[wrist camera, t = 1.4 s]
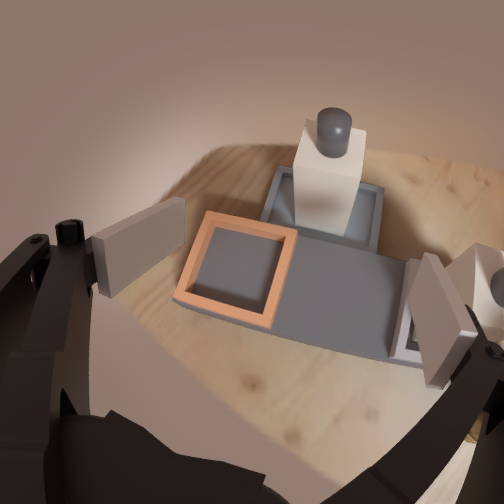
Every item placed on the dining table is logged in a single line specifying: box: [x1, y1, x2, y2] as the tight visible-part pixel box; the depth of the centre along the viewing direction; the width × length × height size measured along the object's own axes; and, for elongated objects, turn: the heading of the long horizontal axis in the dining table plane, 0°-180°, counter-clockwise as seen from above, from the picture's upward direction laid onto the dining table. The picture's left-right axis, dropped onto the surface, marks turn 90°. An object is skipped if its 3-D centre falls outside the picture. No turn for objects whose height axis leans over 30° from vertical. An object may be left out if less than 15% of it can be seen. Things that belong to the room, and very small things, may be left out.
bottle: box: [293, 108, 366, 237], centre depth 24 cm, size 5×5×13 cm
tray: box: [259, 165, 384, 254], centre depth 30 cm, size 12×8×1 cm, turn 73°
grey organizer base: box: [172, 210, 445, 369], centre depth 25 cm, size 29×9×4 cm, turn 73°
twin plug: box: [412, 242, 504, 342], centre depth 16 cm, size 5×5×13 cm
